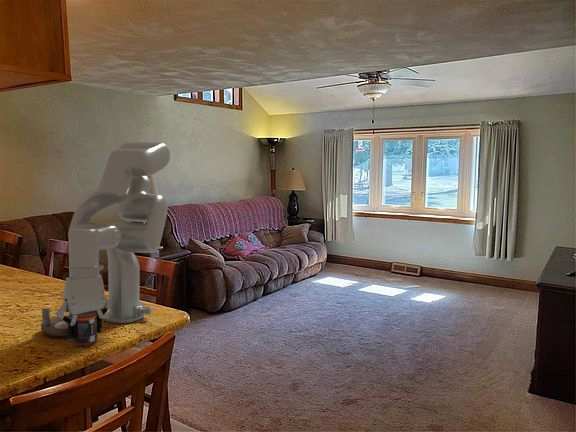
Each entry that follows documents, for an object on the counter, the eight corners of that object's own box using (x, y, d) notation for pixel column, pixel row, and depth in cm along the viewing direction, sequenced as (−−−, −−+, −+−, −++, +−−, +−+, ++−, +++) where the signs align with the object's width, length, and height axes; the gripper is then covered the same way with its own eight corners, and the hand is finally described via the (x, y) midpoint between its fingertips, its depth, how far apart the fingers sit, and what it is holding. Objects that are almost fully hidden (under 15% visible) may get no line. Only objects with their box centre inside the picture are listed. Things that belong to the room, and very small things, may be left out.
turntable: (81, 316, 142) (80, 296, 141) (96, 327, 132) (96, 306, 132) (35, 325, 133) (35, 304, 132) (48, 337, 123) (48, 315, 123)
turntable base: (92, 326, 137) (92, 322, 137) (70, 341, 125) (70, 337, 125) (59, 324, 138) (58, 321, 138) (34, 340, 125) (34, 336, 125)
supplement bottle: (99, 344, 124) (98, 305, 122) (76, 349, 120) (75, 308, 119) (94, 337, 128) (93, 299, 127) (72, 341, 125) (71, 302, 124)
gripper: (107, 265, 131) (108, 324, 133) (45, 274, 118) (47, 339, 120) (120, 269, 126) (121, 330, 128) (57, 279, 113) (59, 347, 115)
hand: (85, 334), depth 124 cm, fingers closed on supplement bottle, 6 cm apart
